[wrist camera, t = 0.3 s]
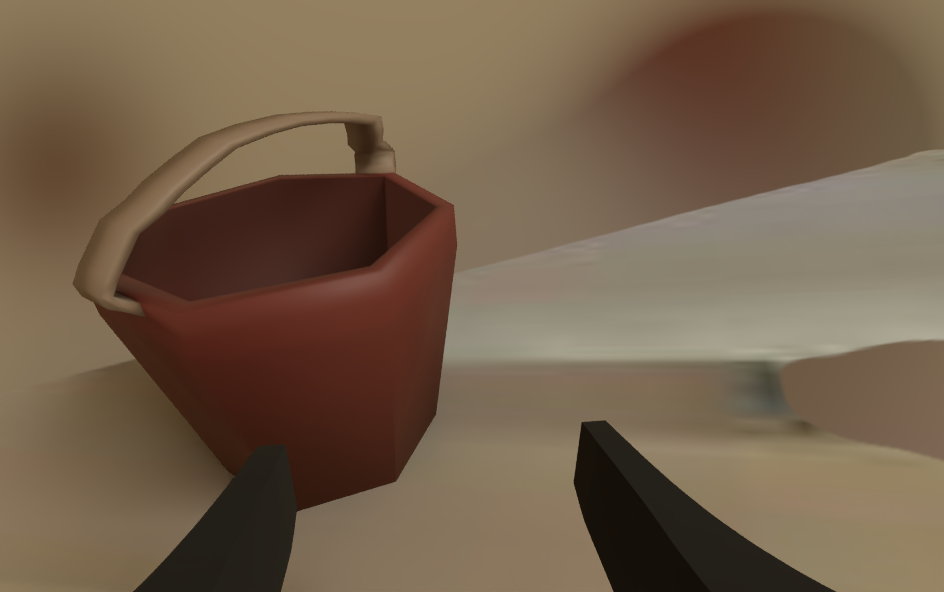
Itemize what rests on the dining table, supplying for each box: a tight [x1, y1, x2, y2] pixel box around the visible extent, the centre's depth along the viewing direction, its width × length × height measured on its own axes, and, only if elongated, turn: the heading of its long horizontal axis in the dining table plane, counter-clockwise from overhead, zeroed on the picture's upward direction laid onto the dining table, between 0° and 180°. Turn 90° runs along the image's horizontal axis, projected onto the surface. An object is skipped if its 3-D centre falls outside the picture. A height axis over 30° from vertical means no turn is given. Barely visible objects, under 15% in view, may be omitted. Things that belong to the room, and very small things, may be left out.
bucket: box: [73, 111, 457, 511], centre depth 38 cm, size 24×22×25 cm
